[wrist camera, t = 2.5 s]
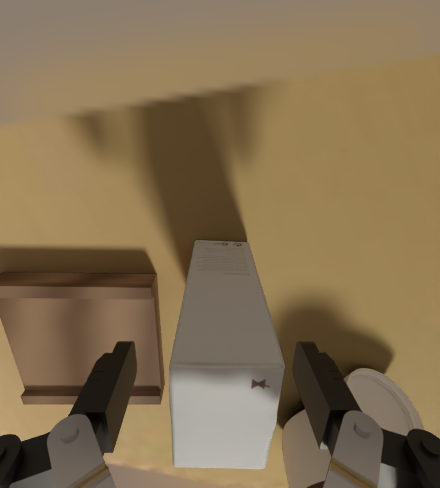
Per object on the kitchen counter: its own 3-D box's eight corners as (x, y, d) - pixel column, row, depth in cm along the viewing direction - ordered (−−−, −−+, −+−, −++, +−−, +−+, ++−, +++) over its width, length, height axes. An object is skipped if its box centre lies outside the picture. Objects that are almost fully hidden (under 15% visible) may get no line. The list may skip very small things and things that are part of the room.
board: (156, 274, 21) (150, 287, 19) (164, 384, 26) (160, 404, 24) (3, 271, 21) (-19, 285, 19) (38, 383, 25) (23, 404, 23)
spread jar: (278, 447, 29) (315, 625, 19) (269, 372, 25) (309, 546, 15) (387, 433, 29) (490, 609, 18) (396, 355, 25) (536, 522, 14)
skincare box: (193, 238, 20) (166, 362, 9) (249, 240, 20) (291, 365, 9) (192, 305, 22) (170, 471, 11) (242, 307, 22) (270, 472, 11)
